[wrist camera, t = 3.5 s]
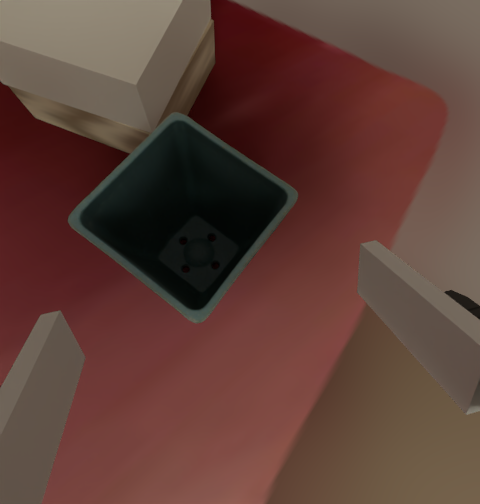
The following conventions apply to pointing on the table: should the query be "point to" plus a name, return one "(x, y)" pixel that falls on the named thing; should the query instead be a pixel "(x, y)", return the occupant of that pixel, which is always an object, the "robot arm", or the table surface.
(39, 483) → the robot arm
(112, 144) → the bottom slab
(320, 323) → the table surface
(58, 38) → the top slab
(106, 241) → the flower pot
